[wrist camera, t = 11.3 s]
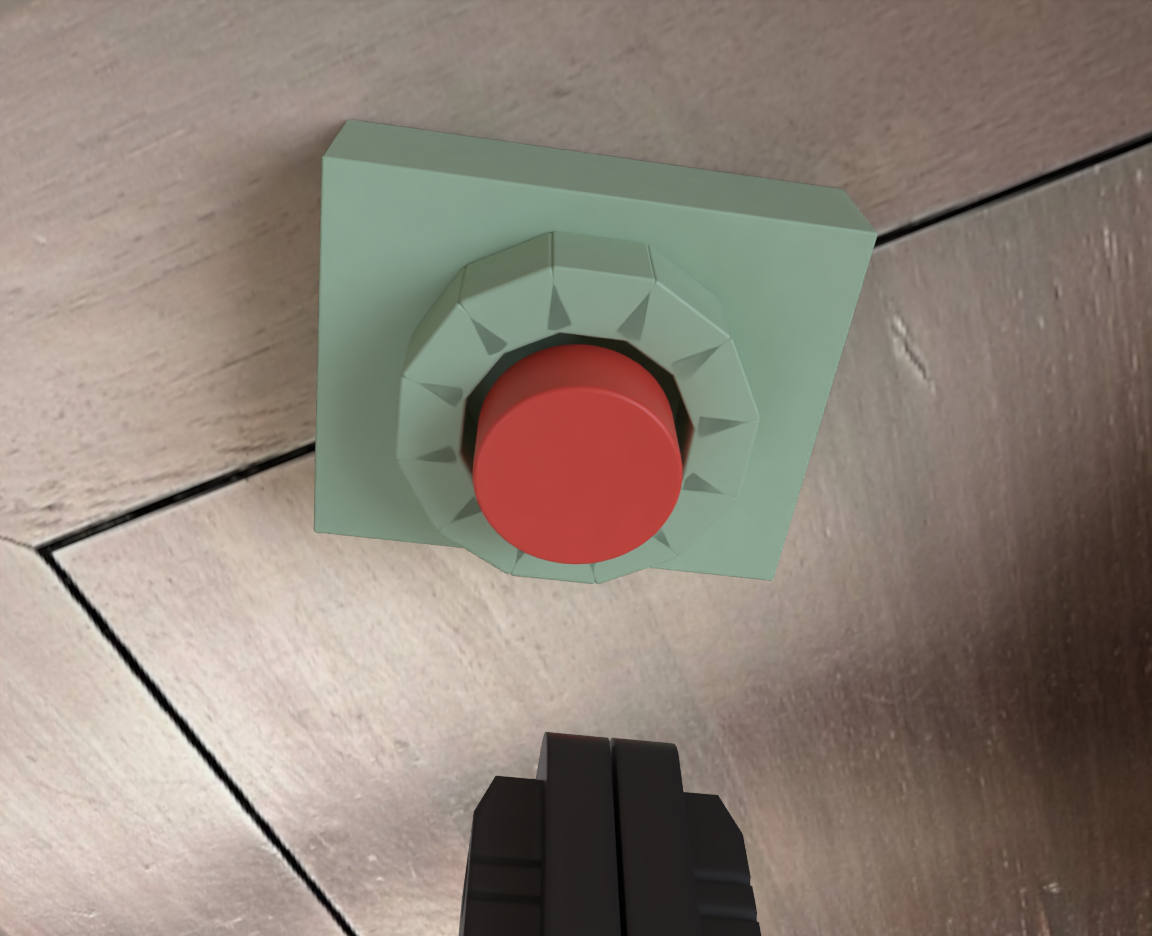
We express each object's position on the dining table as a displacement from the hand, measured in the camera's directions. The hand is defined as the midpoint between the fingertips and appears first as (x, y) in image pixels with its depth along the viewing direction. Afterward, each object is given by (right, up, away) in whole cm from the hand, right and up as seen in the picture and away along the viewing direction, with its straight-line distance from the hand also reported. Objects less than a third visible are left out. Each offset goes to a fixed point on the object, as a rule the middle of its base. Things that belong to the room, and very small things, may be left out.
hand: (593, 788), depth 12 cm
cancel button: (0, +4, +7) cm, 9 cm away
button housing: (0, +7, +11) cm, 13 cm away
